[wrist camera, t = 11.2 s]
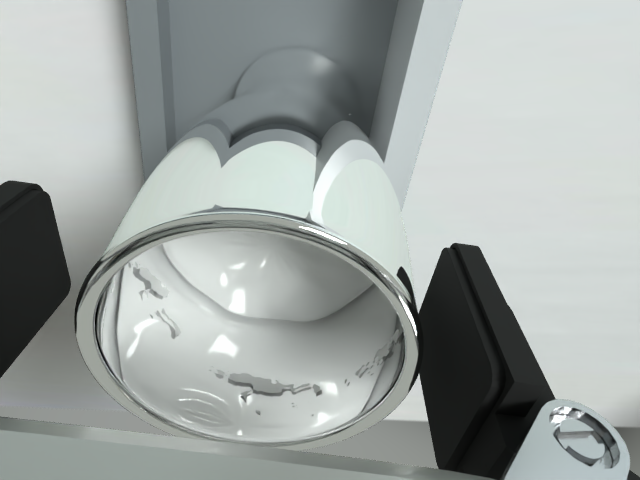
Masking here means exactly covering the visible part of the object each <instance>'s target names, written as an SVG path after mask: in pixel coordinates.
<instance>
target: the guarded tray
mask: <svg viewBox="0 0 640 480" xmlns="http://www.w3.org/2000/svg"><path fill="white" fill-rule="evenodd" d="M462 1H463V0H126V8H127V18H128V27H129V37H130V46H131V56H132V66H133V75H134V85H135V95H136V104H137V114H138V124H139V133H140V143H141V152H142V162H143V172H144V181H145V182H146V181H147V179H148V178H149V176H150V175H151V173H152V172H153V171H154V169H155V168H156V166H157V165H158V164H159V162H160V161H161V159H162V158H163V157H164V156H165V154H166V153H167V152H168V151H169V150H170V149H171V148H172V147H173V146H174V145H175V143H176V142H177V141H178V140H179V139H180V138H181V137H182V136H183V135H184V134H185V133H186V132H187V131H188V130H189V129H190V128H191V127H192V126H193V125H194V124H195V123H197V122H198V121H199V120H201V119H202V118H204V117H205V116H206V115H208V114H209V113H211V112H212V111H213V110H215V109H216V108H218V107H219V106H221V105H223V104H224V103H226V102H228V101H230V100H232V99H233V98H234V94H235V90H236V88H237V85H238V83H239V81H240V79H241V77H242V76H243V74H244V73H245V71H246V70H247V69H248V68H249V67H250V66H251V65H252V64H253V63H254V62H255V61H256V60H257V59H259V58H260V57H262V56H264V55H266V54H268V53H270V52H272V51H275V50H279V49H283V48H305V49H310V50H313V51H316V52H319V53H321V54H323V55H325V56H327V57H328V58H330V59H331V60H333V61H334V62H335V63H336V64H337V65H339V66H340V67H341V68H342V69H343V70H344V72H345V73H346V74H347V75H348V77H349V78H350V80H351V82H352V83H353V85H354V88H355V90H356V93H357V97H358V101H359V109H360V120H359V127H360V128H361V129H362V130H363V131H364V133H365V134H366V135H367V137H368V138H369V140H370V141H371V143H372V145H373V146H374V148H375V149H376V151H377V153H378V154H379V156H380V158H381V159H382V161H383V163H384V165H385V167H386V169H387V172H388V174H389V177H390V180H391V182H392V185H393V188H394V191H395V193H396V196H397V199H398V202H399V205H400V210H401V211H402V208H403V204H404V201H405V197H406V194H407V191H408V187H409V184H410V180H411V177H412V173H413V170H414V166H415V163H416V160H417V156H418V153H419V149H420V146H421V142H422V139H423V135H424V132H425V128H426V125H427V122H428V118H429V115H430V111H431V108H432V104H433V101H434V97H435V94H436V91H437V87H438V84H439V80H440V77H441V73H442V70H443V66H444V63H445V59H446V56H447V53H448V49H449V46H450V42H451V39H452V35H453V32H454V28H455V25H456V22H457V18H458V15H459V11H460V8H461V4H462Z"/></svg>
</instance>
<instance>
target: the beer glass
mask: <svg viewBox="0 0 640 480" xmlns="http://www.w3.org/2000/svg"><path fill="white" fill-rule="evenodd" d="M359 120H360V109H359V101H358V97H357V93H356V90H355V88H354V85H353V83H352V82H351V80H350V78H349V77H348V75H347V74H346V73H345V72H344V70H343V69H342V68H341V67H340V66H339V65H337V64H336V63H335V62H334V61H333V60H331V59H330V58H328V57H327V56H325V55H323V54H321V53H319V52H316V51H313V50H310V49H305V48H283V49H279V50H275V51H272V52H270V53H268V54H266V55H264V56H262V57H260V58H259V59H257V60H256V61H255V62H254V63H253V64H252V65H251V66H250V67H249V68H248V69H247V70H246V71H245V73H244V74H243V76H242V77H241V79H240V81H239V83H238V85H237V88H236V90H235V94H234V98H233V99H232V100H230V101H228V102H226V103H224V104H223V105H221V106H219V107H218V108H216V109H215V110H213V111H212V112H211V113H209V114H208V115H206V116H205V117H204V118H202V119H201V120H199V121H198V122H197V123H195V124H194V125H193V126H192V127H191V128H190V129H189V130H188V131H187V132H186V133H185V134H184V135H183V136H182V137H181V138H180V139H179V140H178V141H177V142H176V143H175V145H174V146H173V147H172V148H171V149H170V150H169V151H168V152H167V153H166V154H165V156H164V157H163V158H162V159H161V161H160V162H159V164H158V165H157V166H156V168H155V169H154V171H153V172H152V173H151V175H150V176H149V178H148V179H147V181H146V182H145V183H144V185H143V186H142V188H141V189H140V191H139V193H138V194H137V196H136V198H135V199H134V201H133V203H132V204H131V206H130V208H129V209H128V211H127V213H126V214H125V216H124V218H123V220H122V221H121V223H120V225H119V227H118V229H117V230H116V232H115V234H114V236H113V238H112V240H111V241H110V243H109V245H108V247H107V248H106V250H105V252H104V254H103V255H102V257H101V259H100V260H99V261H98V262H97V263H96V264H95V266H94V267H93V268H92V269H91V271H90V272H89V274H88V275H87V277H86V279H85V281H84V283H83V285H82V287H81V289H80V292H79V295H78V298H77V302H76V307H75V315H74V325H75V334H76V339H77V343H78V347H79V350H80V353H81V355H82V357H83V360H84V362H85V364H86V365H87V367H88V369H89V371H90V372H91V374H92V375H93V377H94V378H95V379H96V381H97V382H98V383H99V384H100V386H101V387H102V388H103V389H104V390H105V391H106V392H107V393H108V394H109V395H110V396H111V397H112V398H113V399H114V400H115V401H116V402H118V403H119V404H120V405H121V406H122V407H124V408H125V409H126V410H128V411H129V412H131V413H132V414H134V415H135V416H137V417H138V418H140V419H141V420H143V421H145V422H147V423H148V424H150V425H152V426H154V427H156V428H158V429H160V430H162V431H164V432H167V433H169V434H171V435H174V436H176V437H184V438H193V439H202V440H210V441H219V442H228V443H236V444H244V445H253V446H261V447H269V448H278V449H286V450H294V451H302V450H308V449H314V448H318V447H323V446H326V445H330V444H334V443H337V442H340V441H343V440H346V439H348V438H351V437H353V436H355V435H357V434H359V433H362V432H363V431H365V430H367V429H369V428H371V427H372V426H374V425H375V424H377V423H378V422H380V421H381V420H383V419H384V418H385V417H387V416H388V415H389V414H390V413H391V412H392V411H393V410H395V409H396V408H397V406H398V405H399V404H400V403H401V402H402V401H403V400H404V399H405V397H406V396H407V394H408V393H409V391H410V390H411V388H412V387H413V385H414V383H415V381H416V379H417V376H418V374H419V371H420V368H421V364H422V359H423V351H424V337H423V330H422V325H421V321H420V318H419V315H418V312H417V305H416V299H415V291H414V282H413V274H412V267H411V260H410V254H409V247H408V241H407V236H406V231H405V227H404V223H403V218H402V214H401V210H400V205H399V202H398V199H397V196H396V193H395V191H394V188H393V185H392V182H391V180H390V177H389V174H388V172H387V169H386V167H385V165H384V163H383V161H382V159H381V158H380V156H379V154H378V153H377V151H376V149H375V148H374V146H373V145H372V143H371V141H370V140H369V138H368V137H367V135H366V134H365V133H364V131H363V130H362V129H361V128H360V127H359Z"/></svg>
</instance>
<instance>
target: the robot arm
mask: <svg viewBox="0 0 640 480" xmlns="http://www.w3.org/2000/svg"><path fill="white" fill-rule="evenodd" d="M70 286H71V281H70V276H69V272H68V268H67V264H66V260H65V256H64V252H63V248H62V244H61V240H60V236H59V232H58V227H57V223H56V219H55V215H54V211H53V207H52V203H51V199H50V196H49V194H48V193H47V192H45V191H43V189H42V188H41V187H40V186H39V185H37V184H32V183H25V182H18V181H7V182H5V183H3V184H2V185H0V378H1V377H2V375H3V374H4V373H5V372H6V370H7V369H8V368H9V367H10V365H11V364H12V363H13V362H14V361H15V359H16V358H17V357H18V356H19V354H20V353H21V352H22V351H23V349H24V348H25V347H26V346H27V345H28V343H29V342H30V341H31V340H32V338H33V337H34V336H35V335H36V333H37V332H38V331H39V330H40V328H41V327H42V326H43V325H44V324H45V322H46V321H47V320H48V319H49V317H50V316H51V315H52V314H53V312H54V311H55V310H56V309H57V307H58V306H59V305H60V304H61V303H62V301H63V300H64V299H65V298H66V296H67V295H68V293H69V291H70ZM418 315H419V318H420V321H421V325H422V330H423V337H424V351H423V359H422V364H421V368H420V371H419V375H420V380H421V385H422V390H423V395H424V400H425V406H426V411H427V416H428V421H429V425H430V431H431V436H432V442H433V447H434V451H435V457H436V462H437V466H438V468H439V469H434V468H426V467H419V466H411V465H405V464H397V463H389V462H383V461H376V460H368V459H360V458H352V457H344V456H336V455H327V454H318V453H311V452H302V451H294V450H286V449H278V448H269V447H261V446H253V445H244V444H236V443H228V442H219V441H210V440H202V439H193V438H184V437H176V436H167V435H159V434H150V433H141V432H132V431H124V430H114V429H105V428H97V427H89V426H80V425H71V424H62V423H53V422H44V421H35V420H25V419H17V418H8V417H0V480H640V477H638V476H637V475H636V474H634V473H633V472H632V471H630V470H629V469H630V454H629V452H628V449H627V446H626V444H625V442H624V441H623V439H622V438H621V436H620V435H619V433H618V432H617V430H615V428H614V427H613V426H612V425H611V424H610V423H609V422H608V421H607V420H606V419H604V418H603V417H602V416H600V415H599V414H598V413H596V412H595V411H594V410H592V409H590V408H588V407H586V406H584V405H582V404H580V403H577V402H574V401H570V400H564V399H555V397H554V395H553V393H552V391H551V389H550V387H549V385H548V383H547V381H546V379H545V377H544V375H543V373H542V371H541V369H540V367H539V364H538V362H537V360H536V358H535V356H534V354H533V352H532V350H531V348H530V346H529V344H528V342H527V340H526V338H525V336H524V334H523V332H522V330H521V328H520V326H519V324H518V322H517V320H516V318H515V316H514V314H513V312H512V310H511V309H510V307H509V306H508V305H507V303H506V301H505V299H504V297H503V295H502V293H501V291H500V289H499V287H498V285H497V283H496V280H495V278H494V276H493V274H492V272H491V270H490V268H489V266H488V264H487V262H486V260H485V258H484V256H483V254H482V252H481V250H480V248H479V247H478V246H473V245H466V244H459V243H454V244H452V245H451V247H450V248H444V249H443V250H442V252H441V255H440V258H439V260H438V263H437V266H436V268H435V271H434V274H433V276H432V279H431V282H430V284H429V287H428V290H427V293H426V295H425V298H424V301H423V303H422V306H421V309H420V311H419V314H418Z"/></svg>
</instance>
